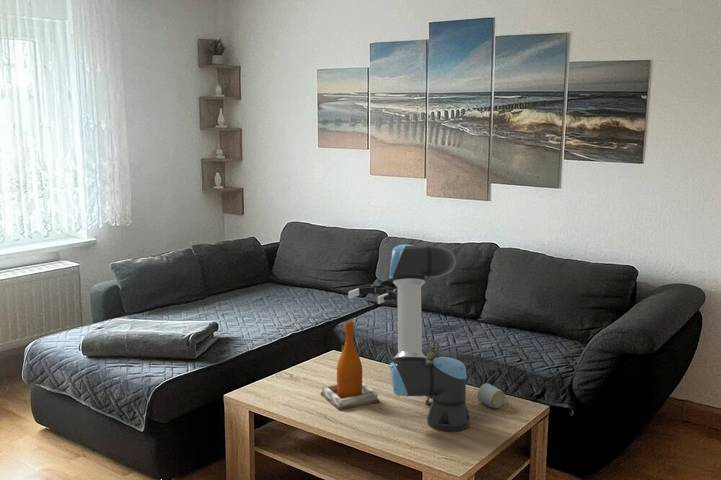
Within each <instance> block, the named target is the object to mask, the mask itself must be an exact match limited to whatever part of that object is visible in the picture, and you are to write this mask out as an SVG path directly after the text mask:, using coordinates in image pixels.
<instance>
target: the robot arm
mask: <svg viewBox="0 0 721 480" xmlns="http://www.w3.org/2000/svg"><path fill="white" fill-rule="evenodd" d="M456 261H457V260H456V256H455V254H454V253H453V252H452V251H451V250H450V249H448V248H446V247H441V246H436V245H429V246H428V245H412V244H406V243H405V244H404V243H403V244H398V245H397V246H395V247H393V248H392V252H391V258H390V265H389V266H390V267H389V275H388V278H386V279H383V280H382V281H381V282H380V284H376V285H374V283H371V284H365V285H357V286H353V287H352V290H349V291H348V294H347V296H348V299H349V300H350V299H353V298H355V297H359V296H360V295H366V294H367V295H368V294H372V295H378V296H377V304H379V305H380V304H383V303H384V302H388V301H392V300H393V301H397V354H396V355H395V356H394V357H393V362H390V363H389V370H390V378H391V385H392V389H393V394H395V396H398V397H426V396H433V399H432V402H431V405H430V408H429V411H428V414H427V417H426V418H427V421H426V423H427V425H428V426H429V427H430V428H432V429H434V430H437V431H440V432H451V433H452V432H461V431H464V430H466V429H467V428H469V427H470V425H471V417H470V414H469V411H468V410H469V409H468V407H467V404H466V401H467V399H466V398H467V397H466V396H467V395H466V391H467V390H466V387H467V377H468V376H467V368H466V365H465V364H464V363H463V362H462V361H460V359H459V360H458V359H456V358H453V357H448V356H442V357H439V358H438V357H437V358H435V359H434V360H433V363H427V359H426V356H427V355H425V354H424V353H423V334H422V333H423V331H422V330H423V329H422V327H423V326H422V321H423V320H422V286H423V285H424V284H425V283H426V279H429V278H430V279H431V278H440V277H444V276H446V275H448V274H450V273H451V272H452V271H453V270H454V269H455V267H456V263H457V262H456Z"/></svg>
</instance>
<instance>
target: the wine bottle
mask: <svg viewBox="0 0 721 480" xmlns="http://www.w3.org/2000/svg"><path fill="white" fill-rule="evenodd" d="M344 325H345V330H344V333H345V342H344V344H343V345H342V346H341V352H340V353H341V354H340V356H339V359H338V361H337V367H336V384H337V393H338V396H339V397H340V398H348V397H353V396H358V395H362V382H363V364H362V360H361V358H360V356H359V353H358V352H357V349H356V346H355V344H354V332H355V330H354V327H355V326H354V325H355V323H354V322H353V321H352V320H347V321H346V322H345V324H344Z"/></svg>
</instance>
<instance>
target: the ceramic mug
mask: <svg viewBox="0 0 721 480" xmlns="http://www.w3.org/2000/svg"><path fill="white" fill-rule="evenodd" d="M477 400H478V402H479V403H482V404H483V405H486V406H488V407H490V408H493V409H499V408H501V407H502V406H503V405H504V404H507V403H508V400H507V398H506V396H505V393H504V391H502V390H501V389H500V388H497V387H496V386H494V385H492V384H490V383H483V384H482V385H481V386H480V387H479V388H478V391H477Z"/></svg>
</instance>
